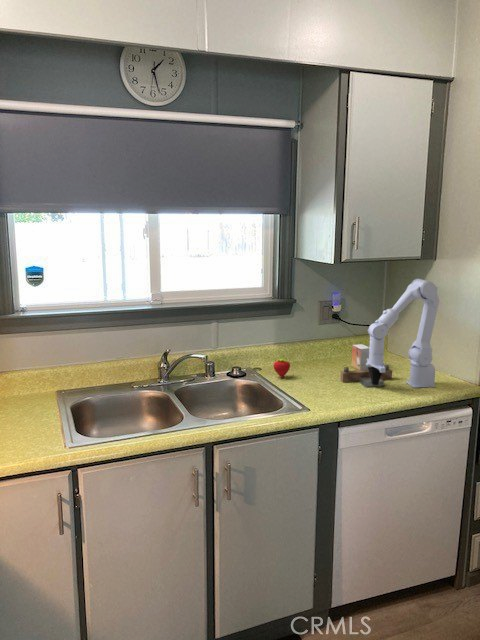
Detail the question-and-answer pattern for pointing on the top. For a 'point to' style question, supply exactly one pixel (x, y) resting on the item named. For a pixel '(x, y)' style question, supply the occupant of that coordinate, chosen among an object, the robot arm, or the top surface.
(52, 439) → the top surface
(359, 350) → the small box
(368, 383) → the steel plate
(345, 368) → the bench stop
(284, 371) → the strawberry
